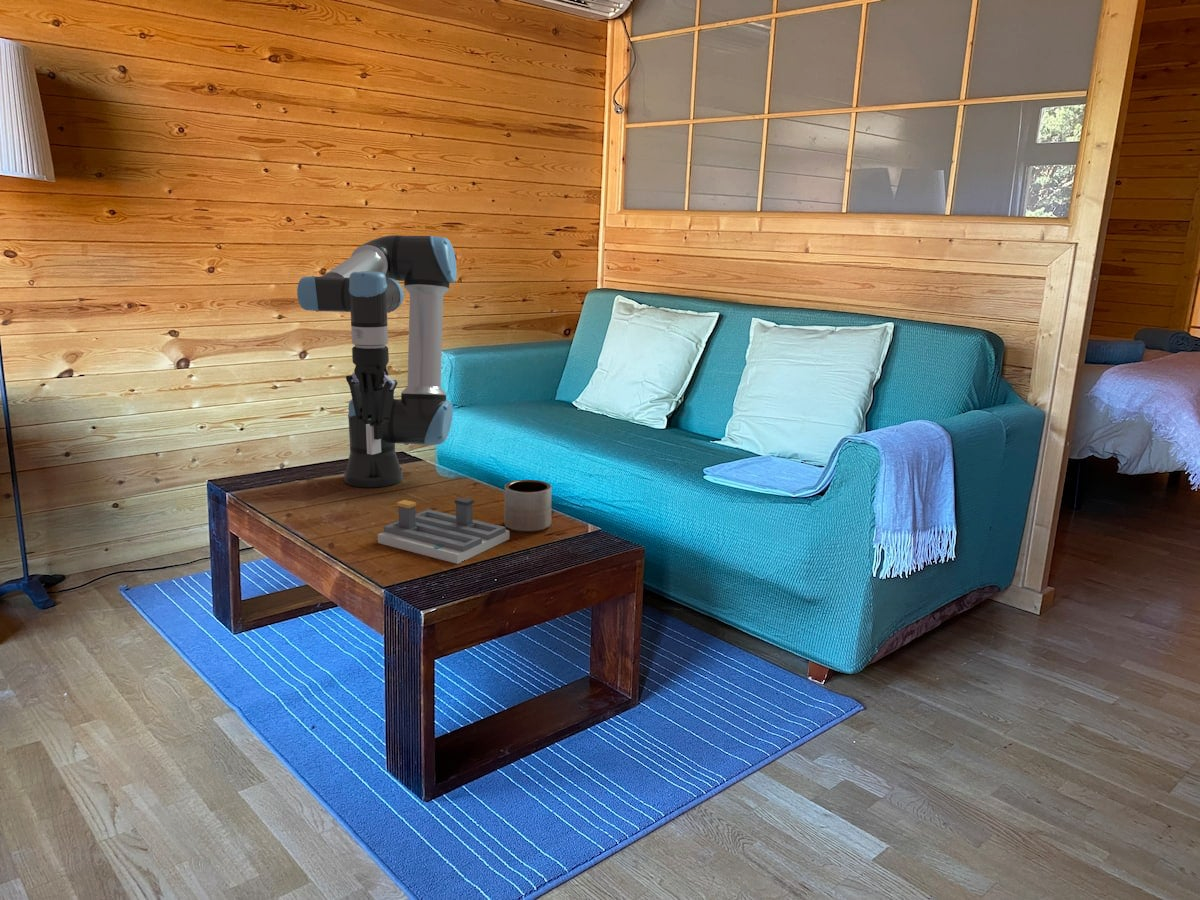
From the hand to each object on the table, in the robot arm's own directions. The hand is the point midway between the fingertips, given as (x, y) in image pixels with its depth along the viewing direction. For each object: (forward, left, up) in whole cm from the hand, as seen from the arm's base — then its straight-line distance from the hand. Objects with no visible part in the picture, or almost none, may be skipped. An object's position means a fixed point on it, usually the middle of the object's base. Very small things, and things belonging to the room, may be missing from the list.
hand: (374, 452), depth 198 cm
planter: (-23, +25, -19) cm, 39 cm away
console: (-4, +16, -18) cm, 25 cm away
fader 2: (-9, +18, -16) cm, 26 cm away
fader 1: (0, +9, -16) cm, 18 cm away
